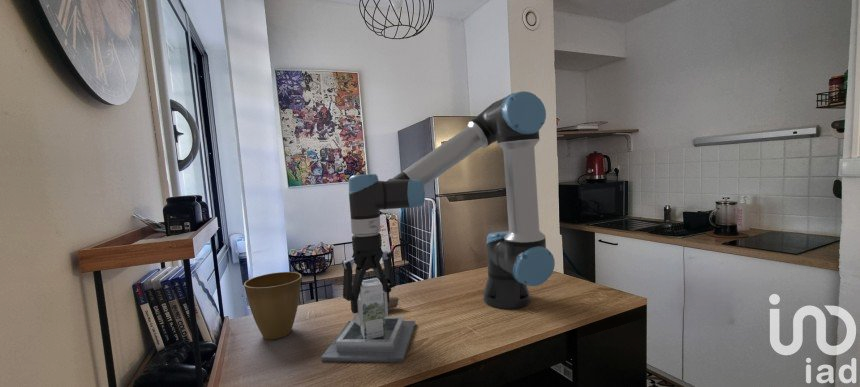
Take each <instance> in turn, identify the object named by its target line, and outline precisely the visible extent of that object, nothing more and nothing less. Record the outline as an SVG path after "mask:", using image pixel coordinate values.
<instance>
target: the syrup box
mask: <svg viewBox="0 0 860 387" xmlns="http://www.w3.org/2000/svg"><path fill="white" fill-rule="evenodd" d="M358 299H360V300H361V307H362V323H363V325H361V326H360V328H361V333H362V335H363V338H364V339H376V338H381V337H385V336H386V331H385V316H384V301H383V285H382V284H381V282H380V280H379V279H378V278H377V277H375V278H370V279H365V280H364V279H363V281H362V285H361V287H360V293H359V297H358Z"/></svg>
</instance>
